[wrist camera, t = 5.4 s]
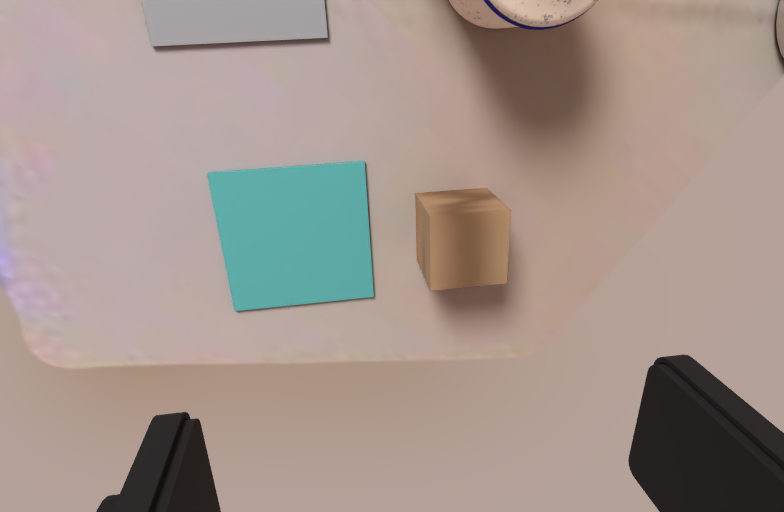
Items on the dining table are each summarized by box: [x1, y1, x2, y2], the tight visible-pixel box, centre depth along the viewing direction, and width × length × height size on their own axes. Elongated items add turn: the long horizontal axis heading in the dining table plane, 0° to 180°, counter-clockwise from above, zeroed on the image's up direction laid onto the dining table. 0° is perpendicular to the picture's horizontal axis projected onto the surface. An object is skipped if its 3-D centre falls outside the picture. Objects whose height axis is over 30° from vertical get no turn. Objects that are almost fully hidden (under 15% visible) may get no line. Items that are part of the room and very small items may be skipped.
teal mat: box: [207, 161, 374, 311], centre depth 41 cm, size 12×12×1 cm
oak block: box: [415, 188, 511, 291], centre depth 39 cm, size 6×6×6 cm
